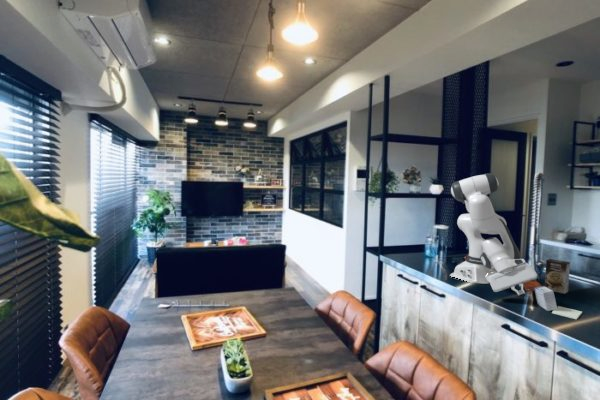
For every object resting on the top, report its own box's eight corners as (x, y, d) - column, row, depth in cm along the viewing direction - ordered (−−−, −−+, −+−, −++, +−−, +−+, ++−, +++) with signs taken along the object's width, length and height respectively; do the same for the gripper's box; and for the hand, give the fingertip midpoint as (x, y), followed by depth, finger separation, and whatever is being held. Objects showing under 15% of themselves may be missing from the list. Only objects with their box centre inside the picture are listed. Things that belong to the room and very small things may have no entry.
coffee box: (543, 289, 179) (545, 259, 178) (548, 287, 183) (549, 258, 182) (564, 294, 172) (566, 263, 171) (568, 291, 176) (570, 261, 175)
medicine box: (557, 309, 147) (553, 290, 147) (546, 311, 148) (543, 292, 148) (547, 303, 155) (543, 285, 155) (537, 304, 156) (533, 287, 156)
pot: (545, 291, 174) (544, 280, 173) (535, 297, 171) (535, 285, 170) (529, 286, 181) (528, 275, 180) (520, 291, 178) (519, 280, 177)
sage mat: (551, 313, 146) (551, 311, 146) (558, 307, 153) (558, 306, 153) (576, 319, 140) (576, 318, 140) (582, 313, 147) (582, 311, 147)
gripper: (483, 273, 163) (498, 300, 155) (527, 257, 157) (545, 285, 150) (484, 276, 168) (498, 302, 160) (526, 261, 162) (544, 288, 155)
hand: (521, 294), depth 155 cm, fingers closed
